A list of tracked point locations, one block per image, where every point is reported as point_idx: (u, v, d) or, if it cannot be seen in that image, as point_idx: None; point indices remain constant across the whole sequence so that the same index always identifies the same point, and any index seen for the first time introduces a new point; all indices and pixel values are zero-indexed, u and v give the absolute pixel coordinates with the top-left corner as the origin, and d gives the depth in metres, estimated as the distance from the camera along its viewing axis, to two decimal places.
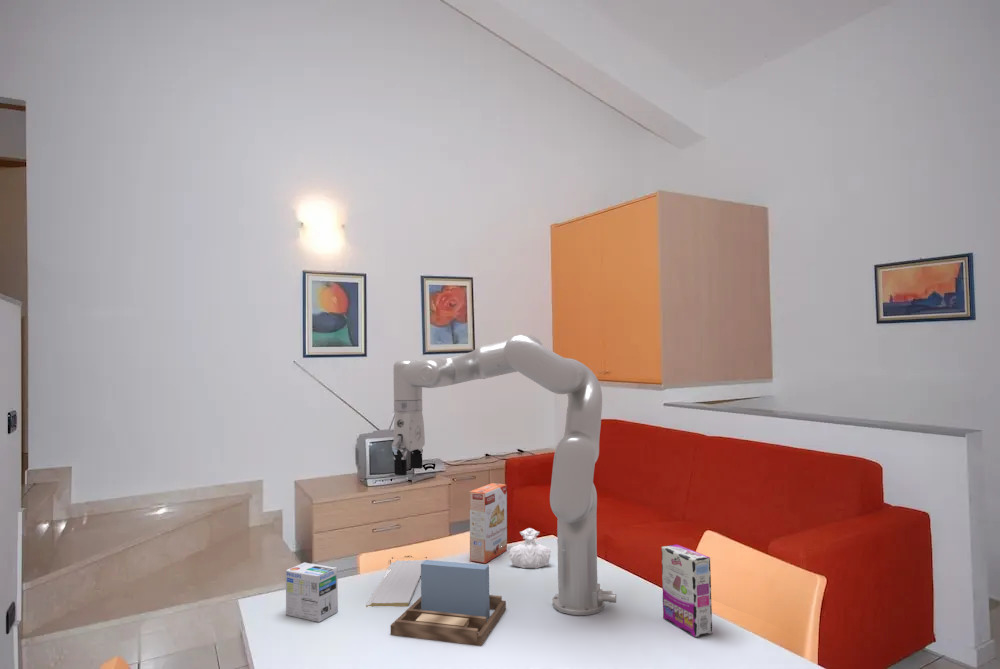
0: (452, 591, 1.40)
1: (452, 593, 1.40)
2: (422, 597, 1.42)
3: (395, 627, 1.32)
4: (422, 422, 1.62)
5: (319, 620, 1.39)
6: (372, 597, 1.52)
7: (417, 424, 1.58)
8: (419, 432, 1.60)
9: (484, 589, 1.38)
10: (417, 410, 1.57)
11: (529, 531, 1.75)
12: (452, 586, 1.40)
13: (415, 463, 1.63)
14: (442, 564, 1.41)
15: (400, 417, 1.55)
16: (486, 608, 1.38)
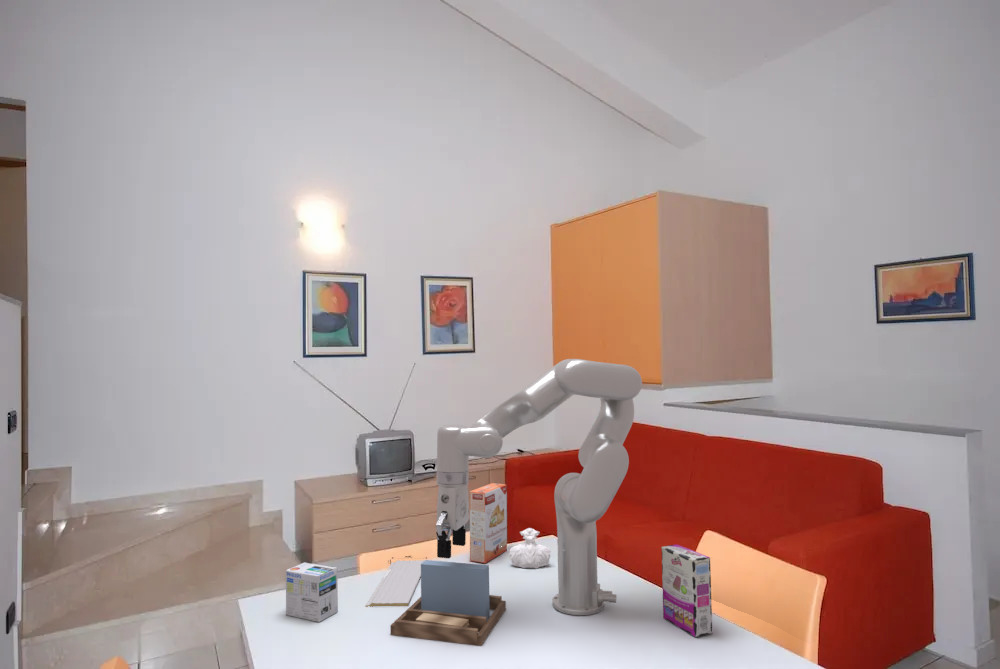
0: (452, 591, 1.40)
1: (452, 593, 1.40)
2: (422, 597, 1.42)
3: (395, 627, 1.32)
4: (467, 494, 1.45)
5: (319, 620, 1.39)
6: (371, 597, 1.52)
7: (463, 498, 1.41)
8: (464, 507, 1.42)
9: (484, 589, 1.38)
10: (463, 483, 1.40)
11: (529, 531, 1.75)
12: (452, 586, 1.40)
13: (457, 540, 1.46)
14: (442, 564, 1.41)
15: (445, 492, 1.38)
16: (486, 608, 1.38)
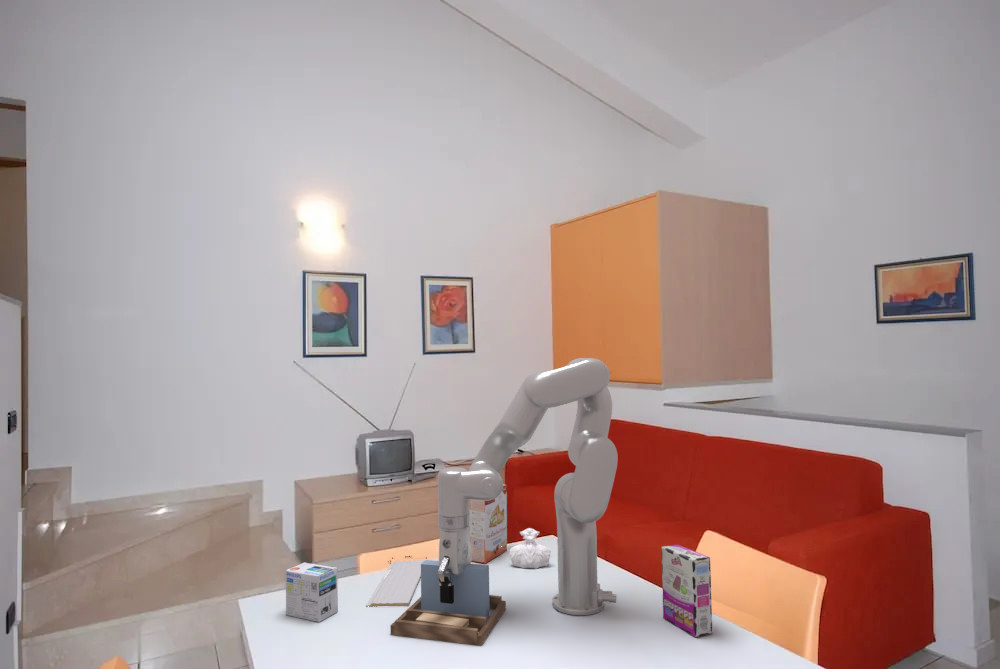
0: None
1: None
2: (422, 597, 1.42)
3: (395, 627, 1.32)
4: (469, 537, 1.44)
5: (319, 620, 1.39)
6: (372, 597, 1.52)
7: (464, 542, 1.41)
8: (466, 550, 1.42)
9: (484, 589, 1.38)
10: (465, 527, 1.39)
11: (529, 531, 1.75)
12: None
13: None
14: None
15: (446, 536, 1.37)
16: (486, 608, 1.38)
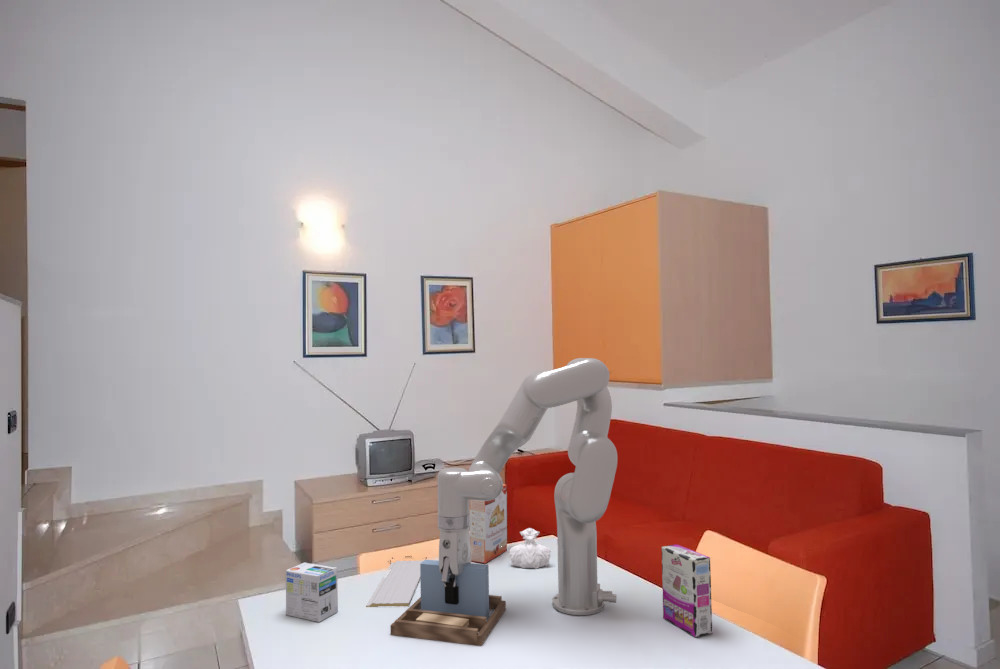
0: None
1: None
2: (422, 597, 1.42)
3: (395, 627, 1.32)
4: (469, 537, 1.44)
5: (319, 620, 1.39)
6: (372, 597, 1.52)
7: (464, 542, 1.41)
8: (466, 550, 1.42)
9: (484, 589, 1.38)
10: (465, 527, 1.39)
11: (529, 531, 1.75)
12: None
13: None
14: None
15: (446, 537, 1.37)
16: (486, 608, 1.38)
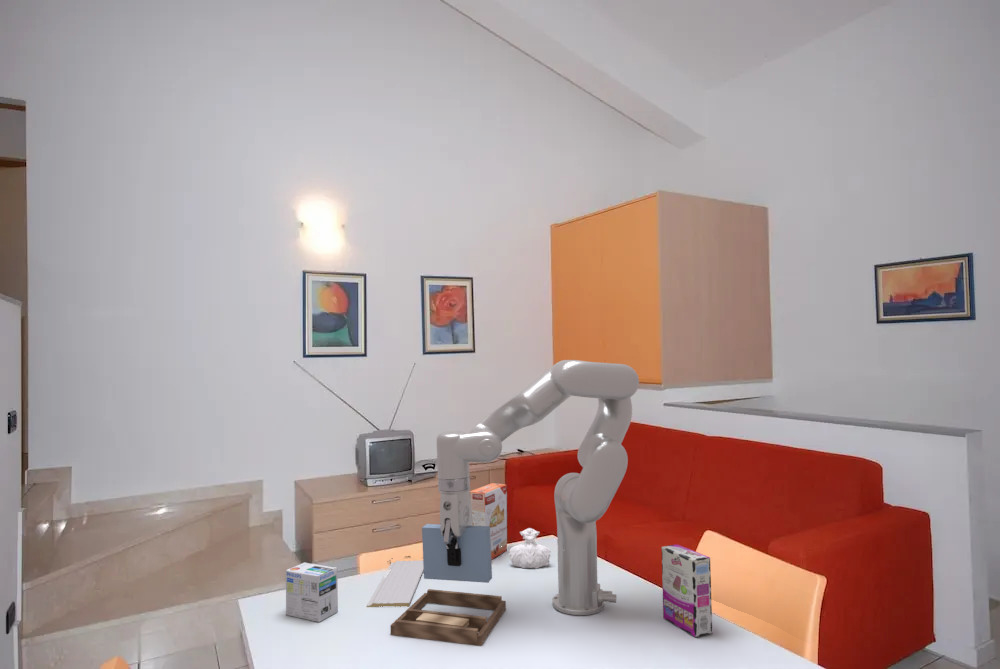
0: None
1: None
2: (424, 560, 1.42)
3: (395, 627, 1.32)
4: (469, 500, 1.45)
5: (319, 620, 1.39)
6: (372, 598, 1.52)
7: (465, 504, 1.41)
8: (467, 513, 1.42)
9: (485, 549, 1.38)
10: (465, 489, 1.40)
11: (529, 531, 1.75)
12: None
13: None
14: None
15: (447, 499, 1.38)
16: (488, 568, 1.39)
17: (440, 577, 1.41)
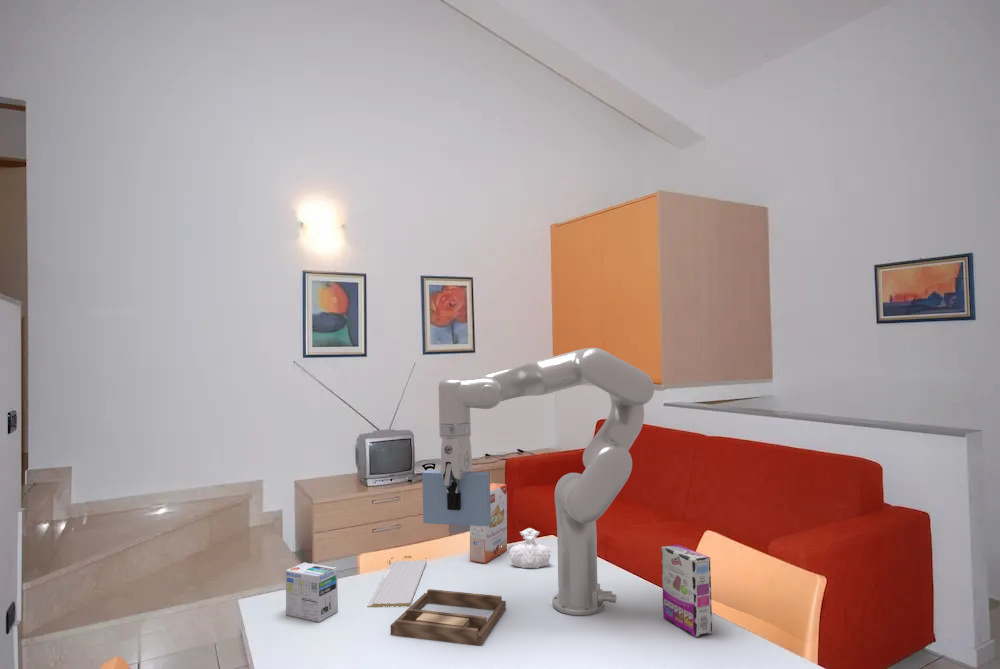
0: None
1: None
2: (424, 505, 1.44)
3: (395, 627, 1.32)
4: (470, 447, 1.46)
5: (319, 620, 1.39)
6: (373, 598, 1.52)
7: (466, 450, 1.43)
8: (468, 458, 1.44)
9: (485, 494, 1.40)
10: (466, 434, 1.42)
11: (529, 531, 1.75)
12: None
13: None
14: None
15: (448, 443, 1.40)
16: (487, 512, 1.40)
17: (439, 521, 1.43)
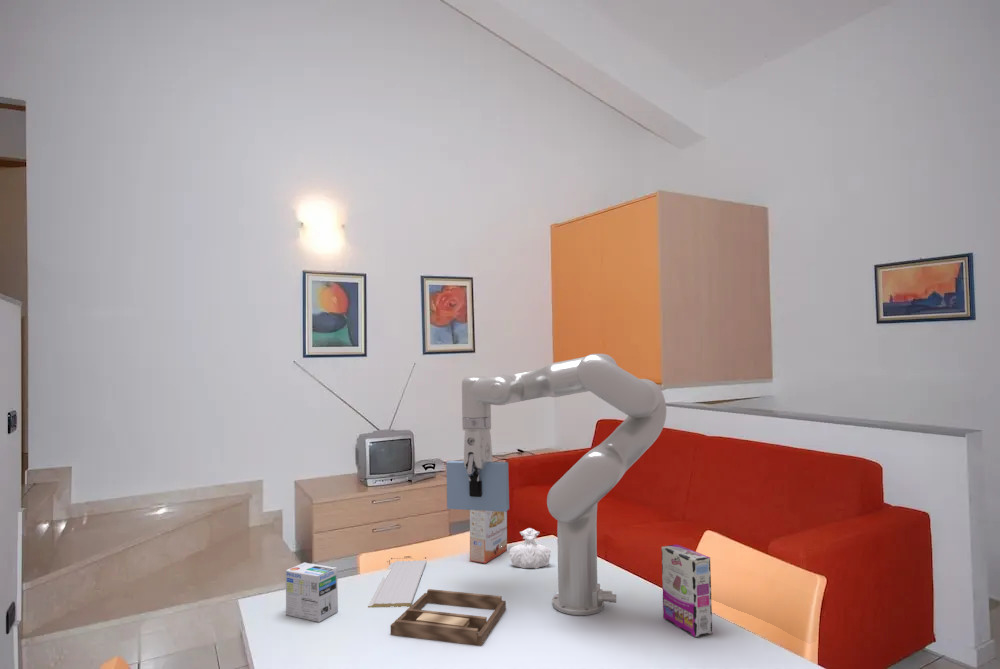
0: None
1: None
2: (448, 492, 1.57)
3: (395, 627, 1.32)
4: (490, 439, 1.59)
5: (319, 620, 1.39)
6: (373, 598, 1.52)
7: (486, 442, 1.56)
8: (488, 450, 1.57)
9: (504, 482, 1.53)
10: (487, 427, 1.54)
11: (529, 531, 1.75)
12: None
13: None
14: None
15: (471, 435, 1.52)
16: (506, 499, 1.53)
17: (462, 507, 1.56)
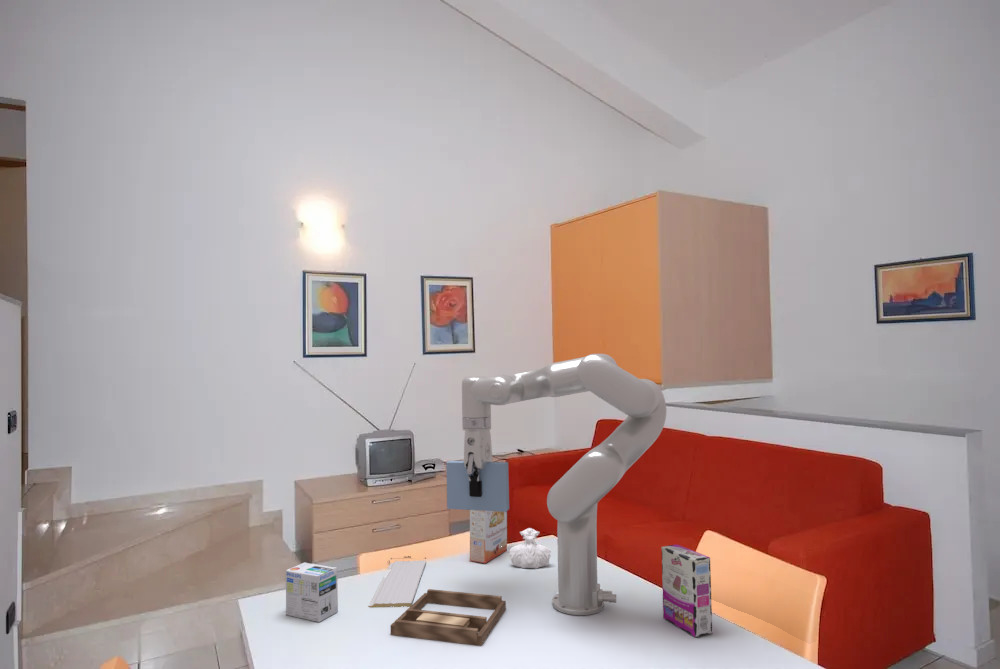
0: None
1: None
2: (448, 492, 1.57)
3: (395, 627, 1.32)
4: (490, 439, 1.59)
5: (319, 620, 1.39)
6: (373, 598, 1.52)
7: (486, 442, 1.56)
8: (488, 450, 1.57)
9: (504, 482, 1.53)
10: (487, 427, 1.54)
11: (529, 531, 1.75)
12: None
13: None
14: None
15: (471, 435, 1.52)
16: (506, 499, 1.53)
17: (462, 507, 1.56)
